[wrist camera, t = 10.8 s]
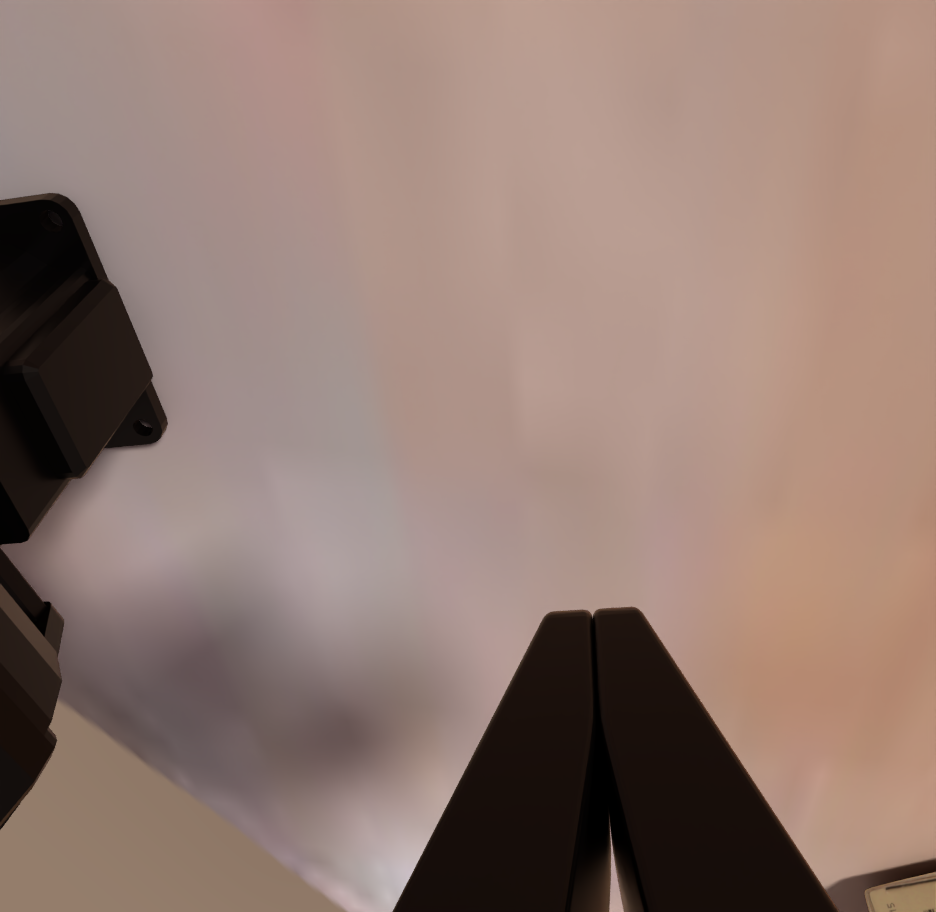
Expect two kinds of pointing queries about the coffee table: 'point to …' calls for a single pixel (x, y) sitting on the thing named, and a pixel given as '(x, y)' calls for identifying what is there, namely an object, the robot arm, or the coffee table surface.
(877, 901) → the skincare box
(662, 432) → the coffee table surface
